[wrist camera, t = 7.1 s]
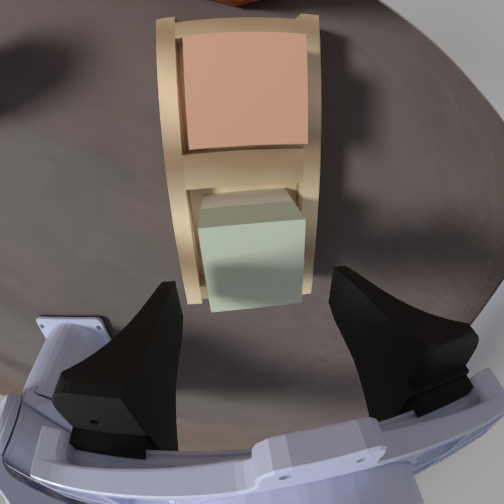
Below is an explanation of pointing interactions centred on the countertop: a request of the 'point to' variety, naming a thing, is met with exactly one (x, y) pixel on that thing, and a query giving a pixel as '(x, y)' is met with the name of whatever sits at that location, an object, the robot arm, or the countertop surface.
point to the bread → (236, 2)
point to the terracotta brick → (245, 89)
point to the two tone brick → (252, 248)
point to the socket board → (233, 157)
